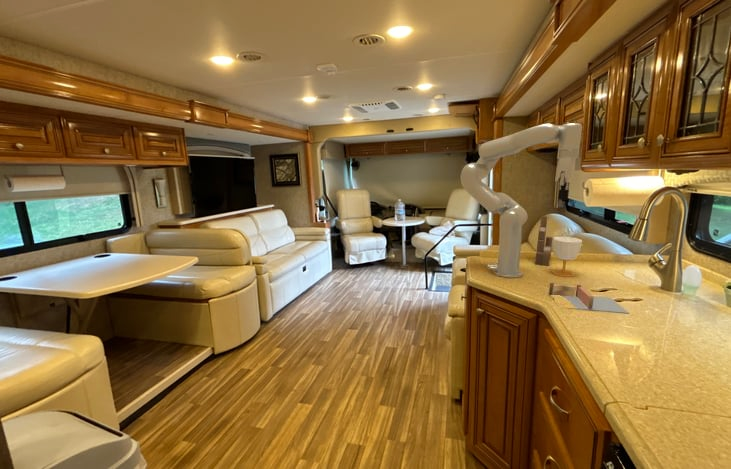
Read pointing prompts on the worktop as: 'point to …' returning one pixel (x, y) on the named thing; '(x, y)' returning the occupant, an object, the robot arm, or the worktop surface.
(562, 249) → the cup
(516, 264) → the robot arm
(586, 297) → the bar
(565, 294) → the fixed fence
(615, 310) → the card
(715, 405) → the worktop surface
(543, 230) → the wooden toy
